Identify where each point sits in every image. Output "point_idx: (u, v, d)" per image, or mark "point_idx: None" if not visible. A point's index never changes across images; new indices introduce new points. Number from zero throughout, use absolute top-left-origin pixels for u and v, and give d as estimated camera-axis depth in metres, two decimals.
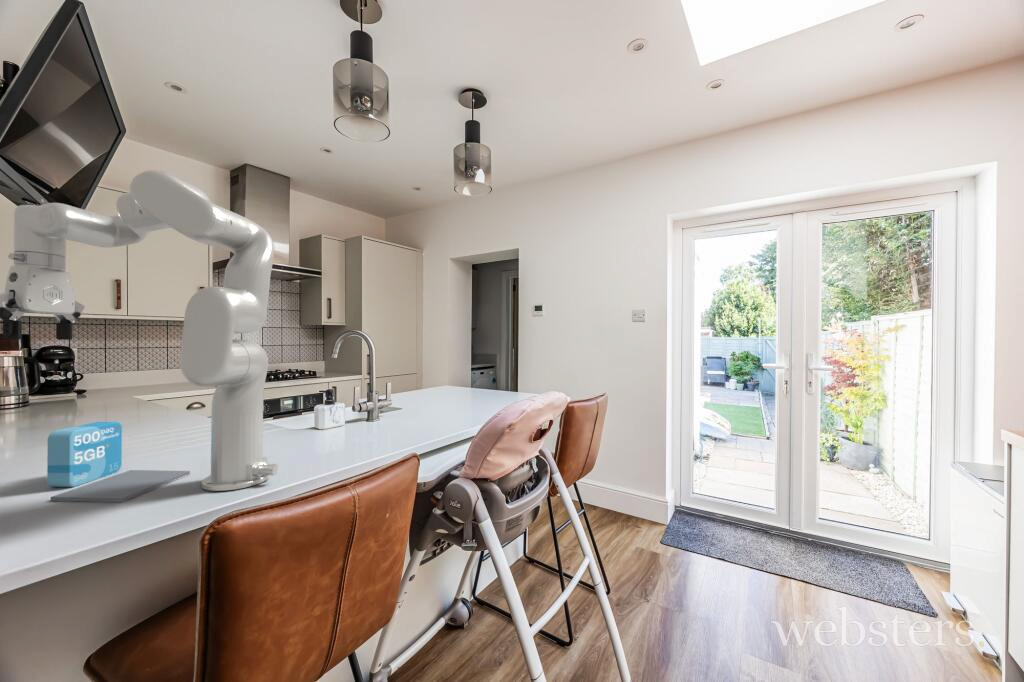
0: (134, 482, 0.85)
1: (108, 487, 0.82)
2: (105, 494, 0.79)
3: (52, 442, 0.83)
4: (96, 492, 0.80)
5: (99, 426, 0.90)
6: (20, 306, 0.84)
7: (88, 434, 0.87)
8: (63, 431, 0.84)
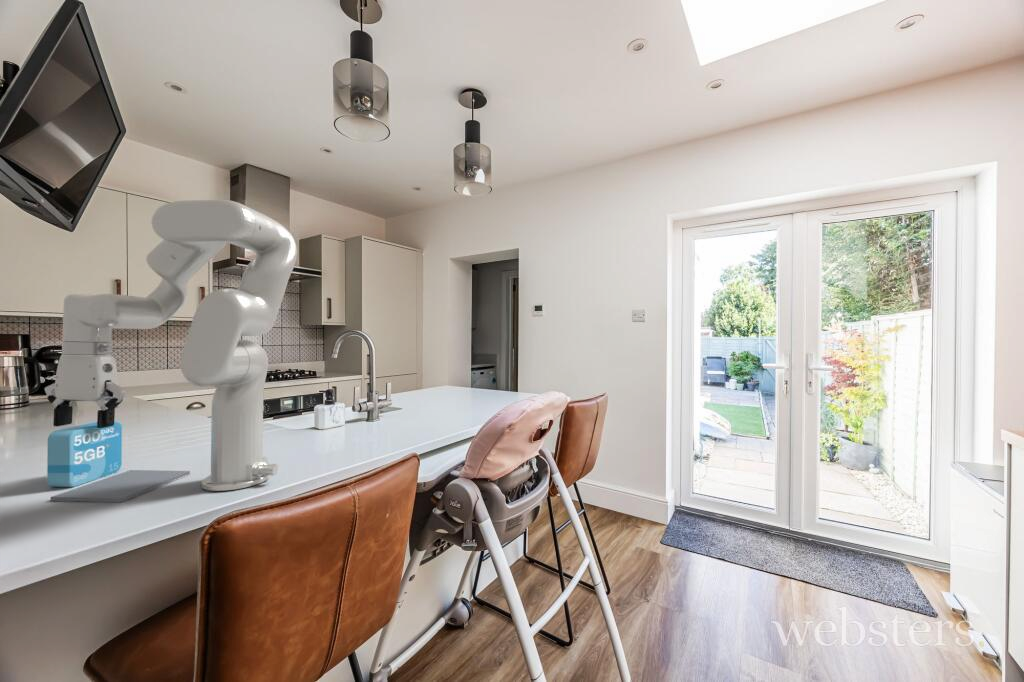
0: (134, 482, 0.85)
1: (108, 487, 0.82)
2: (105, 494, 0.79)
3: (52, 442, 0.83)
4: (96, 492, 0.80)
5: None
6: None
7: (88, 434, 0.87)
8: (63, 431, 0.84)
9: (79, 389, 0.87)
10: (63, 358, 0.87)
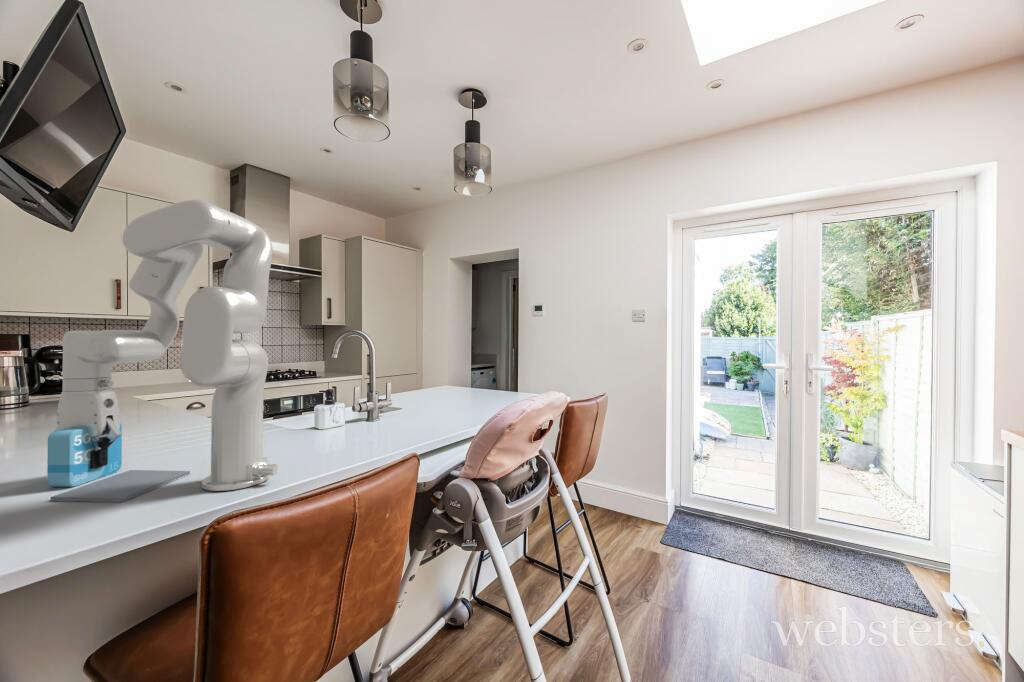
0: (134, 482, 0.85)
1: (108, 487, 0.82)
2: (105, 494, 0.79)
3: (52, 442, 0.83)
4: (96, 492, 0.80)
5: None
6: None
7: None
8: (63, 431, 0.84)
9: (81, 426, 0.87)
10: (64, 395, 0.87)
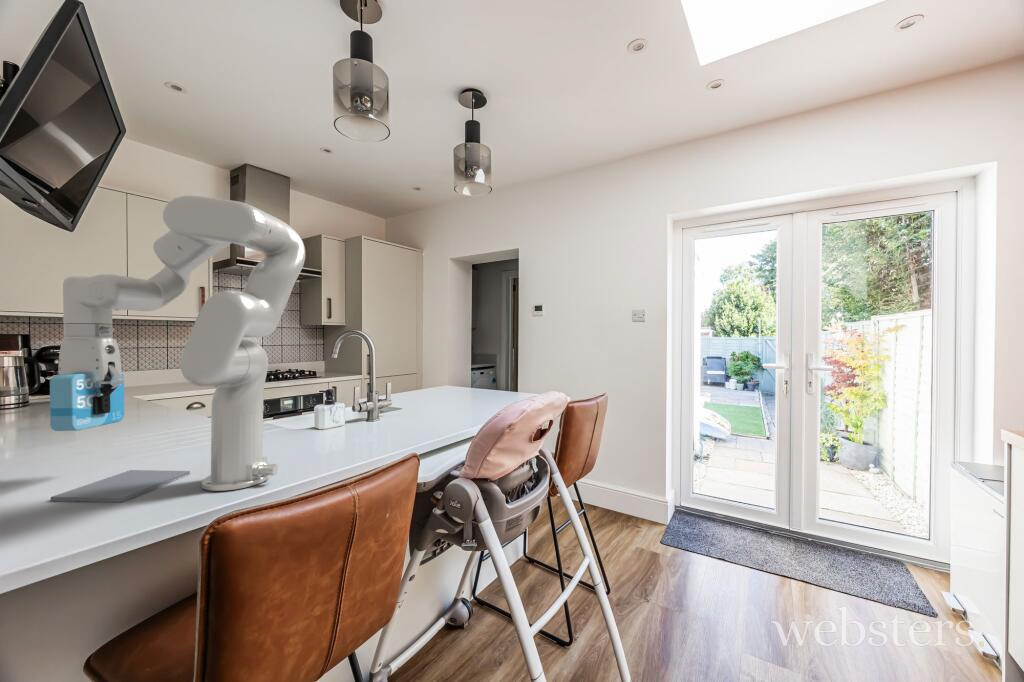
0: (134, 482, 0.85)
1: (108, 487, 0.82)
2: (105, 494, 0.79)
3: (54, 385, 0.83)
4: (96, 492, 0.80)
5: None
6: None
7: None
8: (65, 375, 0.84)
9: (83, 371, 0.87)
10: (65, 341, 0.87)
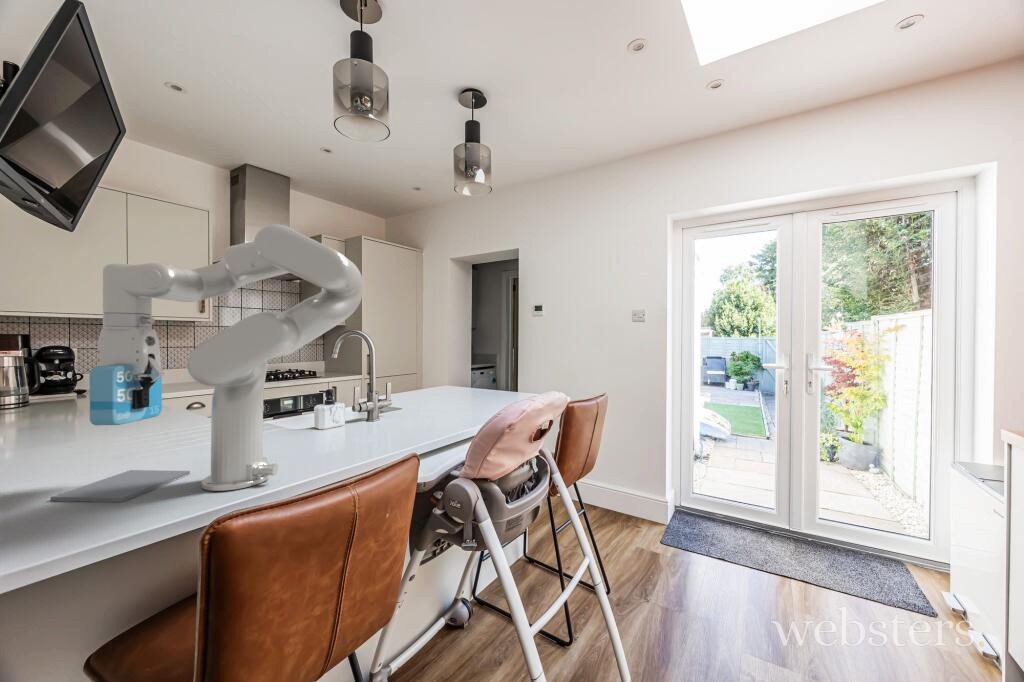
0: (134, 482, 0.85)
1: (108, 487, 0.82)
2: (105, 494, 0.79)
3: (94, 377, 0.79)
4: (96, 492, 0.80)
5: None
6: None
7: (129, 372, 0.83)
8: (105, 366, 0.80)
9: (122, 363, 0.83)
10: (104, 331, 0.83)
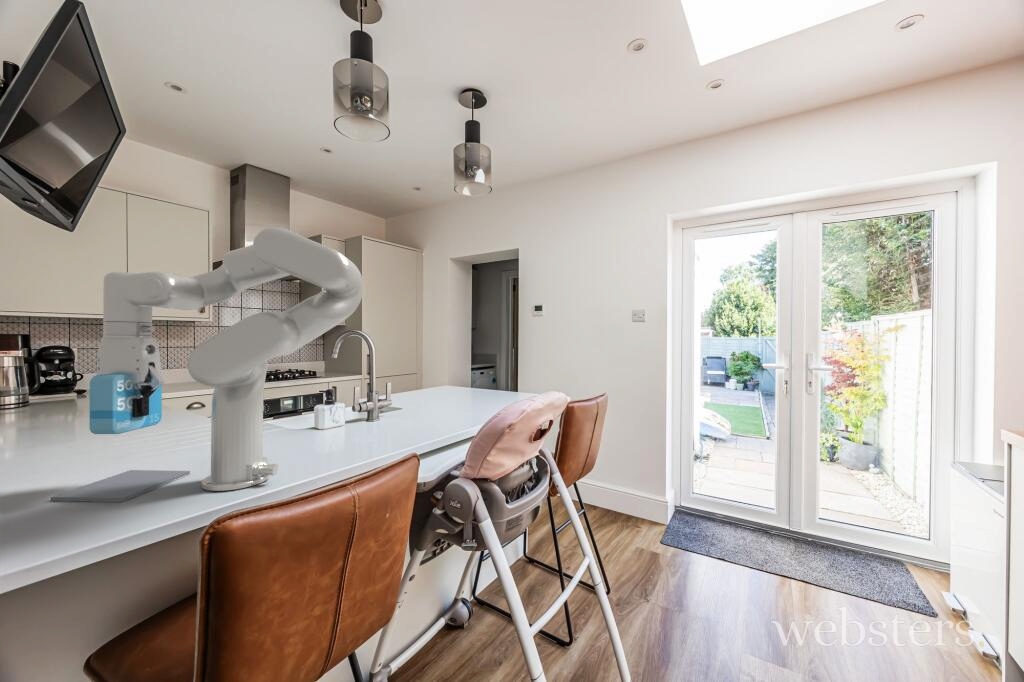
0: (134, 482, 0.85)
1: (108, 487, 0.82)
2: (105, 494, 0.79)
3: (94, 386, 0.79)
4: (96, 492, 0.80)
5: None
6: None
7: None
8: (105, 375, 0.80)
9: (122, 372, 0.83)
10: (105, 340, 0.83)
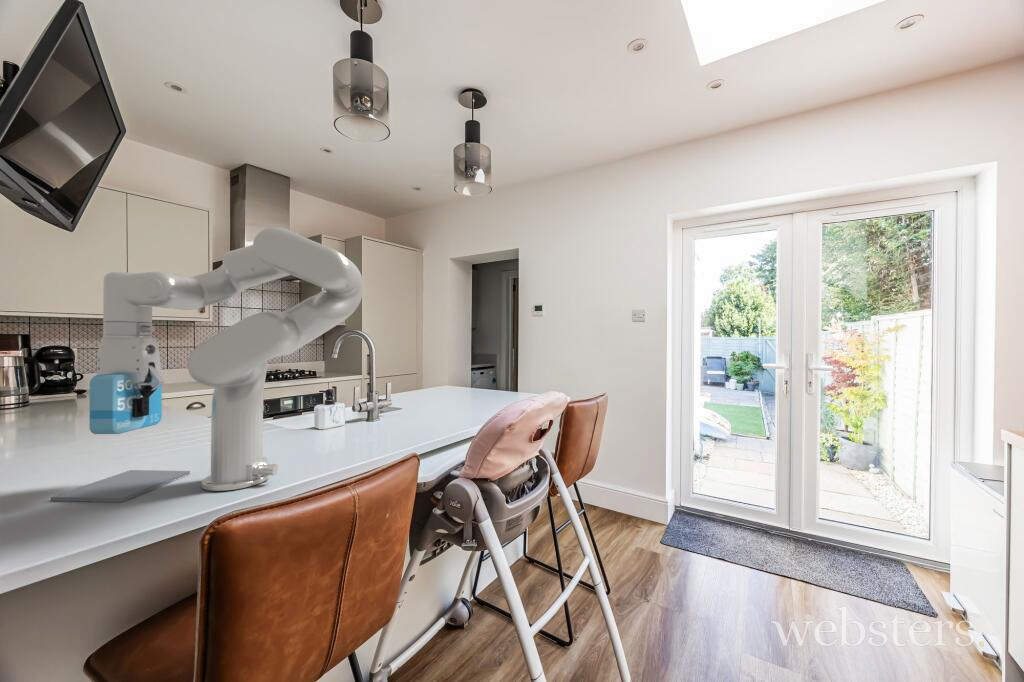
0: (134, 482, 0.85)
1: (108, 487, 0.82)
2: (105, 494, 0.79)
3: (94, 386, 0.79)
4: (96, 492, 0.80)
5: None
6: None
7: None
8: (105, 375, 0.80)
9: (122, 372, 0.83)
10: (105, 340, 0.83)
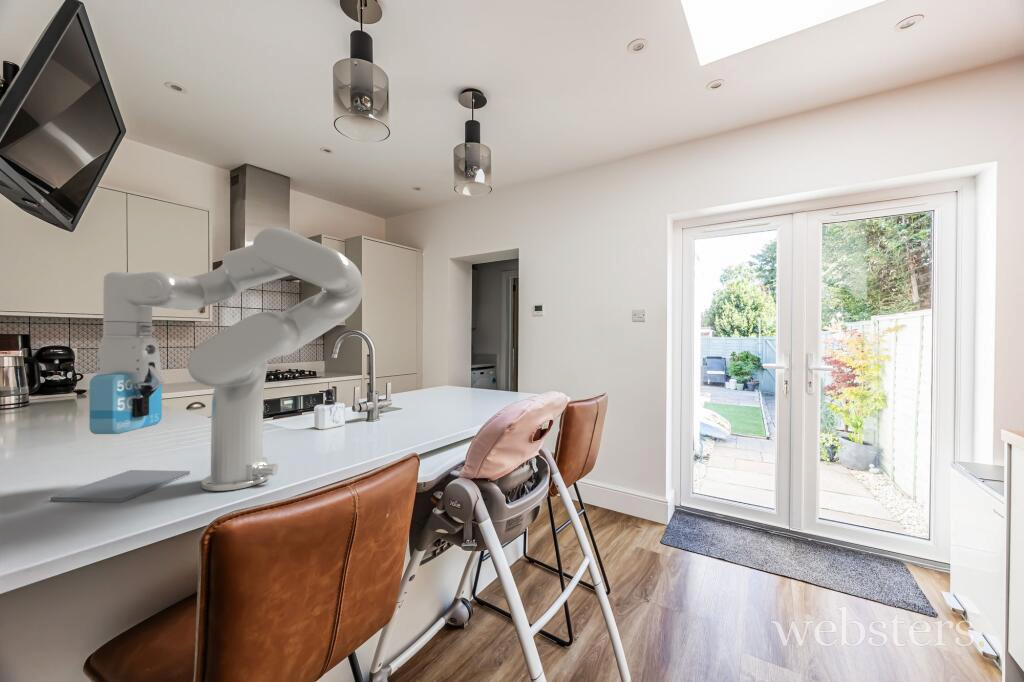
0: (134, 482, 0.85)
1: (108, 487, 0.82)
2: (105, 494, 0.79)
3: (94, 386, 0.79)
4: (96, 492, 0.80)
5: None
6: None
7: None
8: (105, 375, 0.80)
9: (122, 372, 0.83)
10: (105, 340, 0.83)
